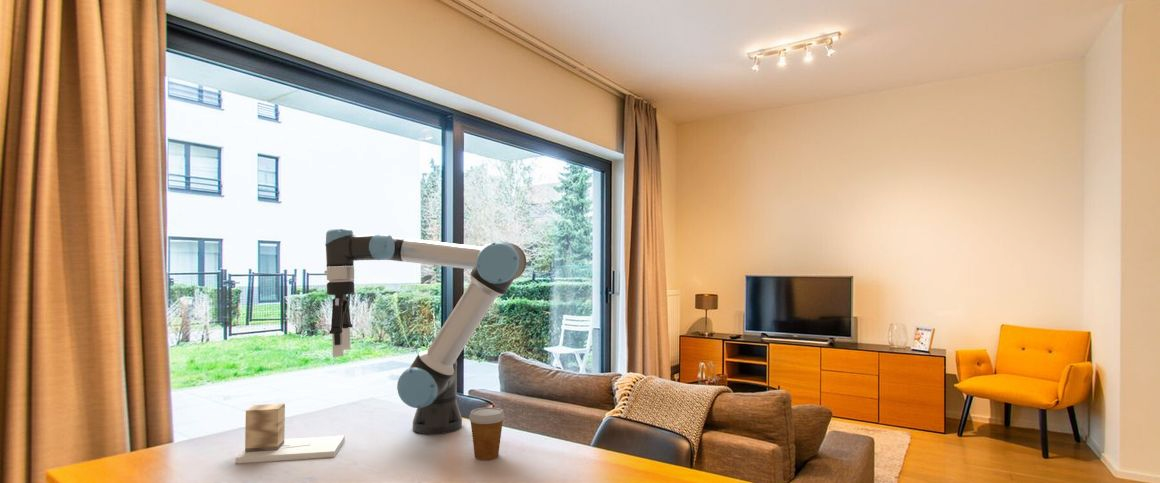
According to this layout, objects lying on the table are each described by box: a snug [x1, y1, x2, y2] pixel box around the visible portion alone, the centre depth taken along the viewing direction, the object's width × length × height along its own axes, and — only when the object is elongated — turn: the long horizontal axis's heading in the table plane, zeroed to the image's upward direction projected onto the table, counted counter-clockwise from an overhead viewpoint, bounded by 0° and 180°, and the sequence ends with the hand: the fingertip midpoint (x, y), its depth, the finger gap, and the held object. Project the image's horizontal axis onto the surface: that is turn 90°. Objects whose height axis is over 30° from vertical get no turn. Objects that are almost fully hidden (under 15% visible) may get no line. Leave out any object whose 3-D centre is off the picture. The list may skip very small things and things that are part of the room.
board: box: [235, 435, 346, 464], centre depth 157 cm, size 24×14×2 cm, turn 102°
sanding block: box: [244, 403, 286, 452], centre depth 156 cm, size 8×6×11 cm
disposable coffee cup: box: [468, 406, 505, 461], centre depth 153 cm, size 10×10×12 cm
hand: (342, 352), depth 169 cm, fingers open, 13 cm apart
